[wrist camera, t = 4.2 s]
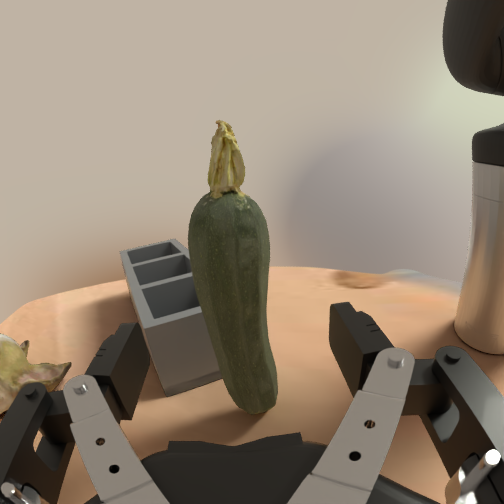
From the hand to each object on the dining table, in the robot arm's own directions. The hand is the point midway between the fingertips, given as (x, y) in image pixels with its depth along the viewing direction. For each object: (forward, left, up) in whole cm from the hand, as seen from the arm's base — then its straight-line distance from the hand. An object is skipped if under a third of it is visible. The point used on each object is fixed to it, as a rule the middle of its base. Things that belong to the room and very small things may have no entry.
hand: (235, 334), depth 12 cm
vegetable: (-2, -5, -11) cm, 12 cm away
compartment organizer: (-1, -22, -11) cm, 24 cm away
